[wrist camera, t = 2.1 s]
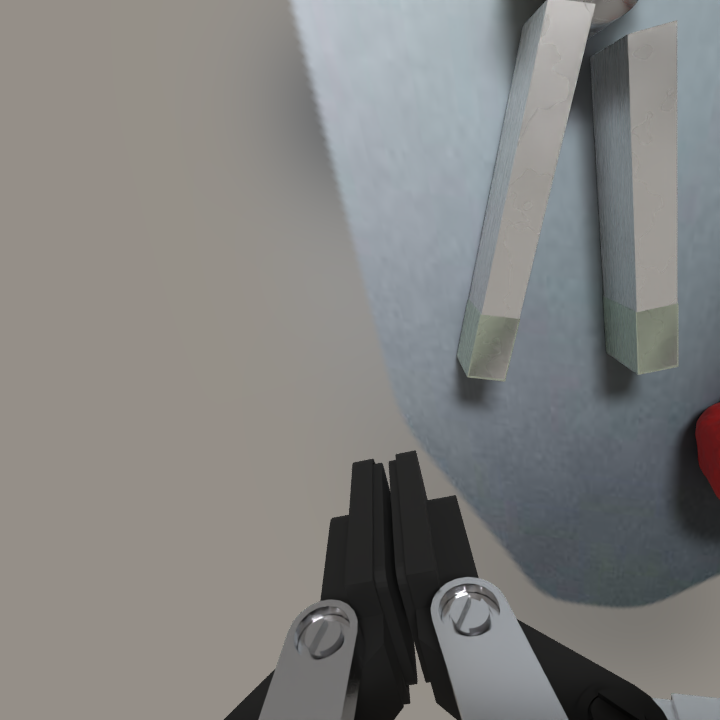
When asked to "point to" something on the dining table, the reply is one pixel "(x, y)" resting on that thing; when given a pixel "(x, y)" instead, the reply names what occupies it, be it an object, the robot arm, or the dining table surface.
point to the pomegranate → (709, 445)
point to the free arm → (526, 175)
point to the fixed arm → (638, 195)
